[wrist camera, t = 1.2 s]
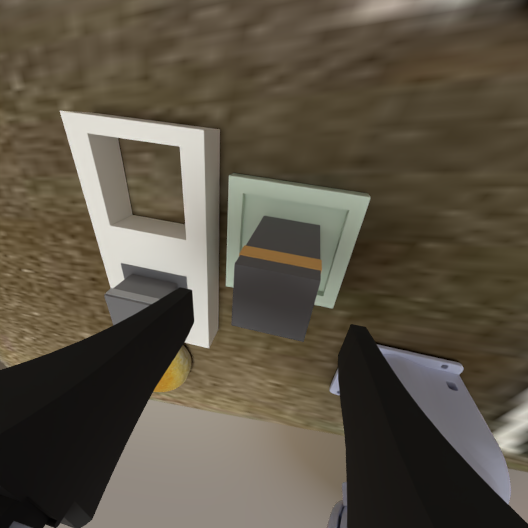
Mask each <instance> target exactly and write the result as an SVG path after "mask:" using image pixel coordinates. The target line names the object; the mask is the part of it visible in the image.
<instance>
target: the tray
mask: <svg viewBox="0 0 528 528" xmlns="http://www.w3.org/2000/svg"><path fill="white" fill-rule="evenodd" d="M370 198H371V197H370V196H369V194H368V193H362V192H355V191H349V190H342V189H336V188H329V187H323V186H316V185H310V184H303V183H297V182H290V181H284V180H277V179H271V178H264V177H258V176H251V175H244V174H238V173H232V174H231V175H229V188H228V225H227V262H226V286H228V287H233V285H234V264H235V262H236V261H237V259H238V257H239V253H240V252H241V250H242V248H243V247H244V245H246V244H247V243H248V241H249V239H250V238H251V236H252V234H253V233H254V231H255V230H256V228H257V226H258V225H259V223H260V221H261V220H262V218H263V216H270V217H275V218H281V219H287V220H293V221H299V222H305V223H310V224H316V225H320V260H322V271H321V282H320V285H319V289H318V292H317V296H316V299H315V303H314V305H318V306H323V307H328V308H332V309H333V307H334V304H335V301H336V298H337V295H338V292H339V289H340V286H341V283H342V280H343V277H344V274H345V272H346V269H347V266H348V263H349V260H350V257H351V254H352V251H353V248H354V245H355V242H356V239H357V236H358V233H359V230H360V227H361V225H362V222H363V219H364V216H365V213H366V210H367V207H368V204H369V201H370Z"/></svg>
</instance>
